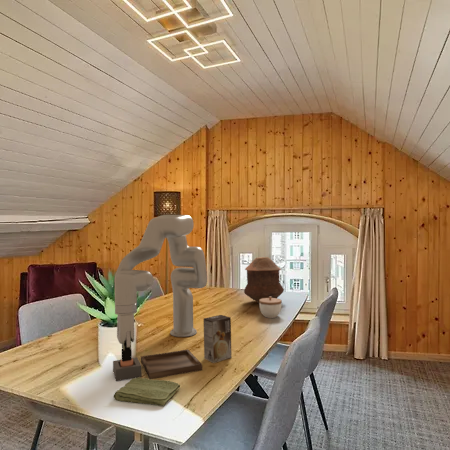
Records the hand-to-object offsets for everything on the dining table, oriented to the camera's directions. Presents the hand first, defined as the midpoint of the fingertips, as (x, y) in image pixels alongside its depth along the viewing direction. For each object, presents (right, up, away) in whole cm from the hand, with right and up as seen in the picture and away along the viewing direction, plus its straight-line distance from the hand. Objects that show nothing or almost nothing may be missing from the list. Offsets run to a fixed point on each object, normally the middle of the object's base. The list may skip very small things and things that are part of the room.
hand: (126, 360), depth 132 cm
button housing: (0, -5, 0) cm, 5 cm away
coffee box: (+32, -5, +15) cm, 36 cm away
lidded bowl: (+60, -4, +78) cm, 98 cm away
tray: (+14, -5, +7) cm, 17 cm away
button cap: (0, -3, 0) cm, 3 cm away
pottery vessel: (+60, -3, +110) cm, 125 cm away
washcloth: (+11, -6, -15) cm, 19 cm away
